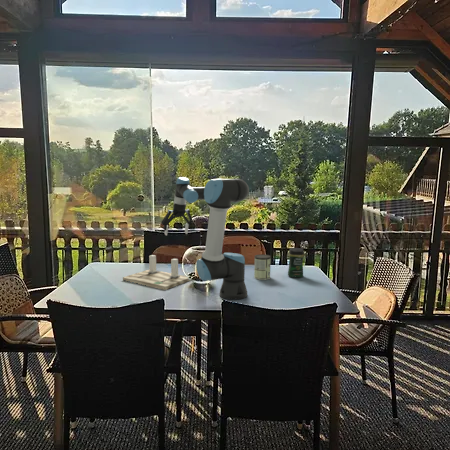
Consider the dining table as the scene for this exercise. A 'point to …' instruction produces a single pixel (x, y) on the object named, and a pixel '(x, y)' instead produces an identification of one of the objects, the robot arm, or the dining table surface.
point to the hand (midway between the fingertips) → (175, 233)
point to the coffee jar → (296, 262)
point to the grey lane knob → (152, 264)
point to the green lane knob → (174, 268)
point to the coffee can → (262, 267)
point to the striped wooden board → (156, 279)
